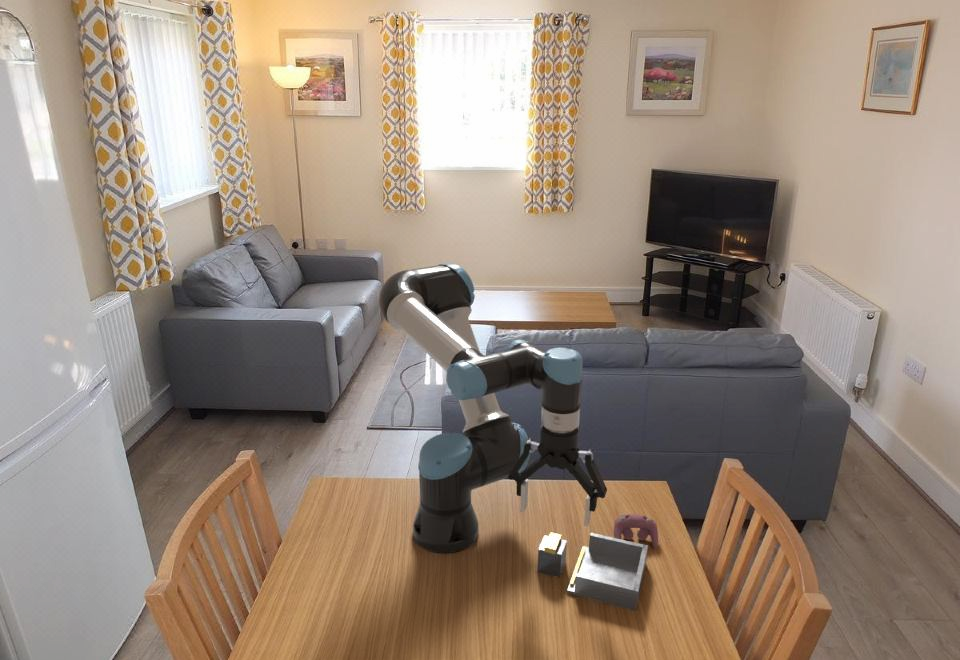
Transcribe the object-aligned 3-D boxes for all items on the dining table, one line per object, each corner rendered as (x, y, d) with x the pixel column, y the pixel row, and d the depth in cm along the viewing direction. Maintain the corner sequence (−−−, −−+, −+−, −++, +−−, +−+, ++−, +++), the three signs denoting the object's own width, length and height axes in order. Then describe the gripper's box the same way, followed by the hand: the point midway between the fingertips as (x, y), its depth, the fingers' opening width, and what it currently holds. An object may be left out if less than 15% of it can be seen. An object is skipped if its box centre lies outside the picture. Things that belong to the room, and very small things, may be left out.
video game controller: (655, 545, 159) (656, 514, 159) (659, 549, 154) (659, 517, 155) (612, 542, 160) (613, 511, 160) (614, 546, 155) (615, 514, 156)
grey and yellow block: (537, 572, 148) (538, 545, 145) (543, 557, 152) (544, 531, 150) (559, 578, 146) (561, 551, 143) (565, 562, 150) (567, 536, 148)
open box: (567, 593, 142) (568, 574, 140) (582, 548, 155) (584, 531, 153) (635, 610, 137) (638, 591, 136) (645, 563, 150) (648, 545, 149)
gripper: (494, 422, 137) (492, 512, 145) (619, 445, 129) (611, 539, 137) (505, 407, 144) (504, 493, 151) (626, 427, 136) (617, 518, 143)
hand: (555, 515), depth 144 cm, fingers open, 13 cm apart
